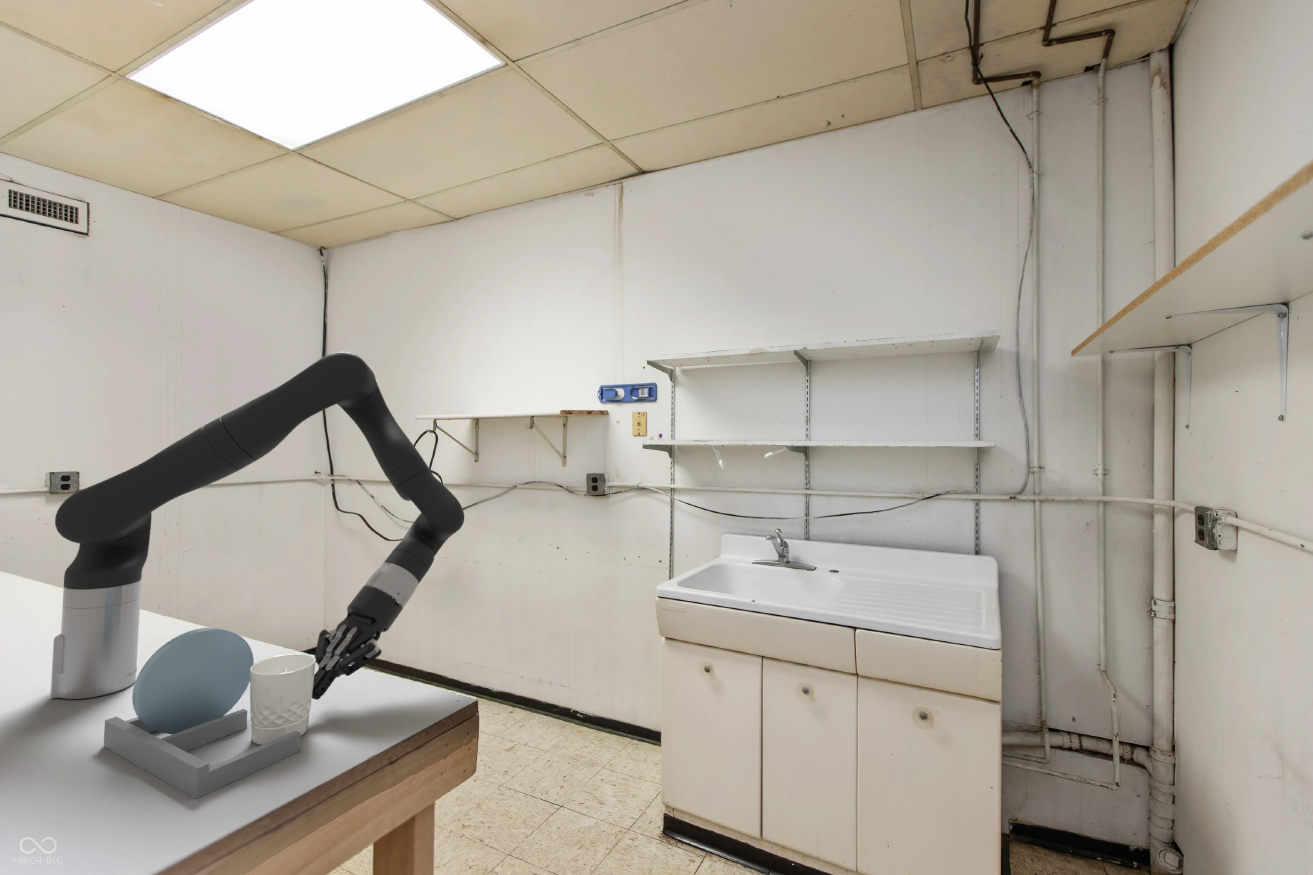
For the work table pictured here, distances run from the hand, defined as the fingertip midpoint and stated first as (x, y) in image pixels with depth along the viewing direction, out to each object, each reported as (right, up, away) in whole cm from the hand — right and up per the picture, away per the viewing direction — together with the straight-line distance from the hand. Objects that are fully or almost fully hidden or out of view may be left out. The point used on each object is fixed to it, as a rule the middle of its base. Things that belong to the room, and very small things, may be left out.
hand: (310, 696), depth 85 cm
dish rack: (-9, -3, -7) cm, 12 cm away
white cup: (-2, -4, -4) cm, 6 cm away
